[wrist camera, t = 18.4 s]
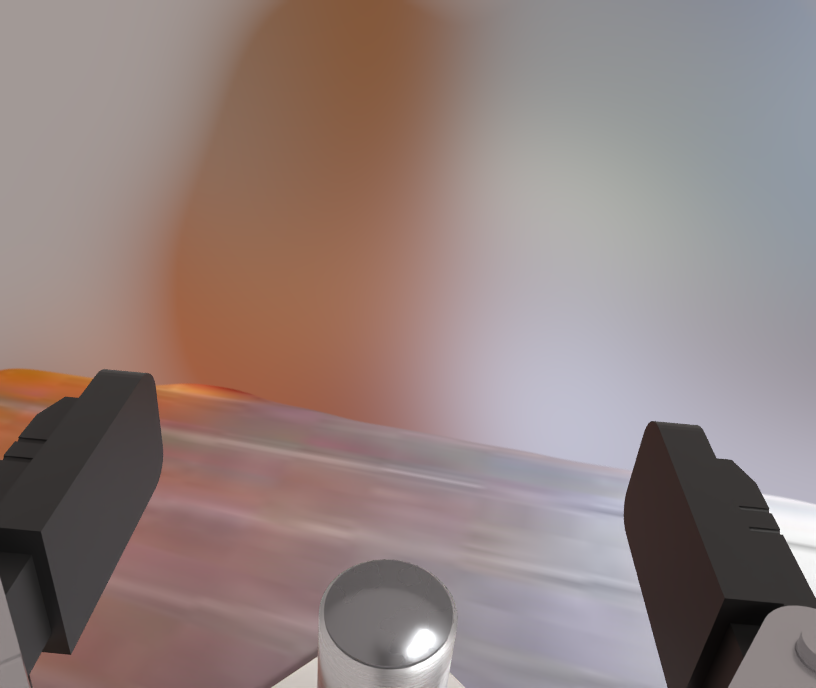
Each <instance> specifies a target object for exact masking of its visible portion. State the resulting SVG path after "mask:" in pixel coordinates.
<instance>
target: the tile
mask: <svg viewBox="0 0 816 688" xmlns="http://www.w3.org/2000/svg"><path fill="white" fill-rule="evenodd" d="M317 674H318V657H316V658H315V659H313V660H312V661H310V662H309V663H307V664H306V665H304V666H303V667H301V668H300V669H298V670H297V671H295V672H294V673H292V674H291V675H289V676H288V677H286V678H285V679H283V680H282V681H280V682H279V683H277V684H276V685H274V686H273V687H271V688H317ZM447 688H465V687H464V686H463V685H462V684H461V683H460V682H459V681H458V680H457V679H456V678H455V677H454V676H453V675H452V674H451V673H450V672H449V677H448V683H447Z"/></svg>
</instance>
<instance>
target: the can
mask: <svg viewBox="0 0 816 688" xmlns="http://www.w3.org/2000/svg"><path fill="white" fill-rule="evenodd" d="M456 629H457V610H456V606H455V602H454V600H453V598H452V596H451V594H450V592H449V591H448V589H447V588H446V587H445V585H444V584H443V583H442V582H441V581H440V580H439V579H438V578H437V577H435V576H434V575H433V574H432V573H430V572H428V571H427V570H425V569H423V568H421V567H419V566H417V565H414V564H411V563H408V562H403V561H398V560H385V559H383V560H373V561H367V562H364V563H360V564H358V565H355V566H353V567H351V568H349V569H347V570H345V571H344V572H342V573H341V574H339V575H338V576H337V577H336V578H335V579H334V580H333V581H332V582H331V583H330V585H329V586H328V587H327V589H326V591H325V592H324V594H323V597H322V599H321V603H320V607H319V629H318V674H317V688H447V683H448V677H449V671H450V665H451V659H452V653H453V647H454V641H455V635H456Z"/></svg>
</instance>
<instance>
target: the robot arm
mask: <svg viewBox="0 0 816 688" xmlns="http://www.w3.org/2000/svg"><path fill="white" fill-rule="evenodd" d="M162 462H163V444H162V436H161V428H160V419H159V411H158V402H157V394H156V386H155V381H154V378H153V376H152V375H151V374H149V373H138V372H128V371H117V370H107V369H103V370H101V371H99V372H98V374H97V375H96V376H95V377H94V379H93V380H92V381H91V383H90V384H89V385H88V387H87V388H86V389H85V390H84V392H83V393H82V394H81V396H80V397H79V398H73V397H64V398H62V399H61V400H59V401H58V402H56V403H55V404H53V405H51V406H50V407H48V408H47V409H45V410H43V411H42V412H40V413H39V414H37V415H36V416H35V417H34V419H33V420H32V421H31V422H30V424H29V425H28V426H27V427H26V429H25V430H24V431H23V432H22V433H21V435H20V436H19V440H18V442H16V441H15V442H14V443H13V445H12V446H11V447H10V448H9V449H8V451H7V452H6V453H5V454H4V459H3V460H0V688H33V686H32V682H31V679H30V675H29V674H30V672H31V670H32V668H33V667H34V665H35V663H36V661H37V659H38V658H39V656H40V654H41V652H48V653H59V654H69V655H71V653H72V651H73V650H74V648H75V646H76V644H77V642H78V640H79V638H80V636H81V634H82V632H83V630H84V628H85V626H86V624H87V622H88V620H89V618H90V616H91V614H92V612H93V610H94V608H95V606H96V604H97V602H98V600H99V598H100V596H101V594H102V593H103V591H104V589H105V587H106V585H107V583H108V581H109V579H110V577H111V575H112V573H113V571H114V569H115V567H116V565H117V563H118V561H119V559H120V557H121V555H122V553H123V551H124V549H125V547H126V545H127V543H128V541H129V539H130V537H131V535H132V534H133V532H134V530H135V528H136V526H137V524H138V522H139V520H140V518H141V516H142V514H143V512H144V510H145V508H146V506H147V504H148V502H149V500H150V498H151V496H152V494H153V492H154V490H155V488H156V486H157V484H158V481H159V478H160V474H161V469H162ZM624 525H625V531H626V535H627V539H628V543H629V546H630V550H631V554H632V558H633V561H634V565H635V569H636V572H637V576H638V580H639V583H640V587H641V591H642V595H643V598H644V602H645V606H646V609H647V613H648V617H649V620H650V624H651V628H652V632H653V635H654V639H655V643H656V646H657V650H658V654H659V657H660V661H661V665H662V668H663V672H664V676H665V680H666V683H667V687H668V688H816V598H815V596H814V594H813V592H812V590H811V588H810V587H809V585H808V583H807V581H806V579H805V577H804V575H803V573H802V571H801V569H800V567H799V565H798V563H797V561H796V559H795V557H794V556H793V554H792V552H791V550H790V548H789V546H788V544H787V542H786V540H785V538H784V536H783V535H780V528H779V527H778V525H777V523H776V521H775V519H774V517H773V515H772V514H771V513H769V507H768V505H767V503H766V501H765V499H764V498H763V496H762V494H761V492H760V490H759V488H758V486H757V484H756V483H755V482H754V481H753V480H752V479H751V478H750V477H749V476H748V475H747V474H746V473H745V472H744V471H743V470H742V469H741V468H740V467H739V466H737V465H736V464H735V463H734V462H733V461H732V460H728V459H717V458H716V456H715V454H714V452H713V450H712V448H711V446H710V444H709V441H708V439H707V437H706V435H705V433H704V431H703V429H702V428H701V427H700V426H698V425H688V424H678V423H667V422H656V421H651V422H650V423H649V424H648V425H647V427H646V429H645V432H644V435H643V438H642V441H641V445H640V448H639V451H638V455H637V458H636V462H635V465H634V468H633V472H632V475H631V478H630V482H629V485H628V489H627V492H626V497H625V503H624Z"/></svg>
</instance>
